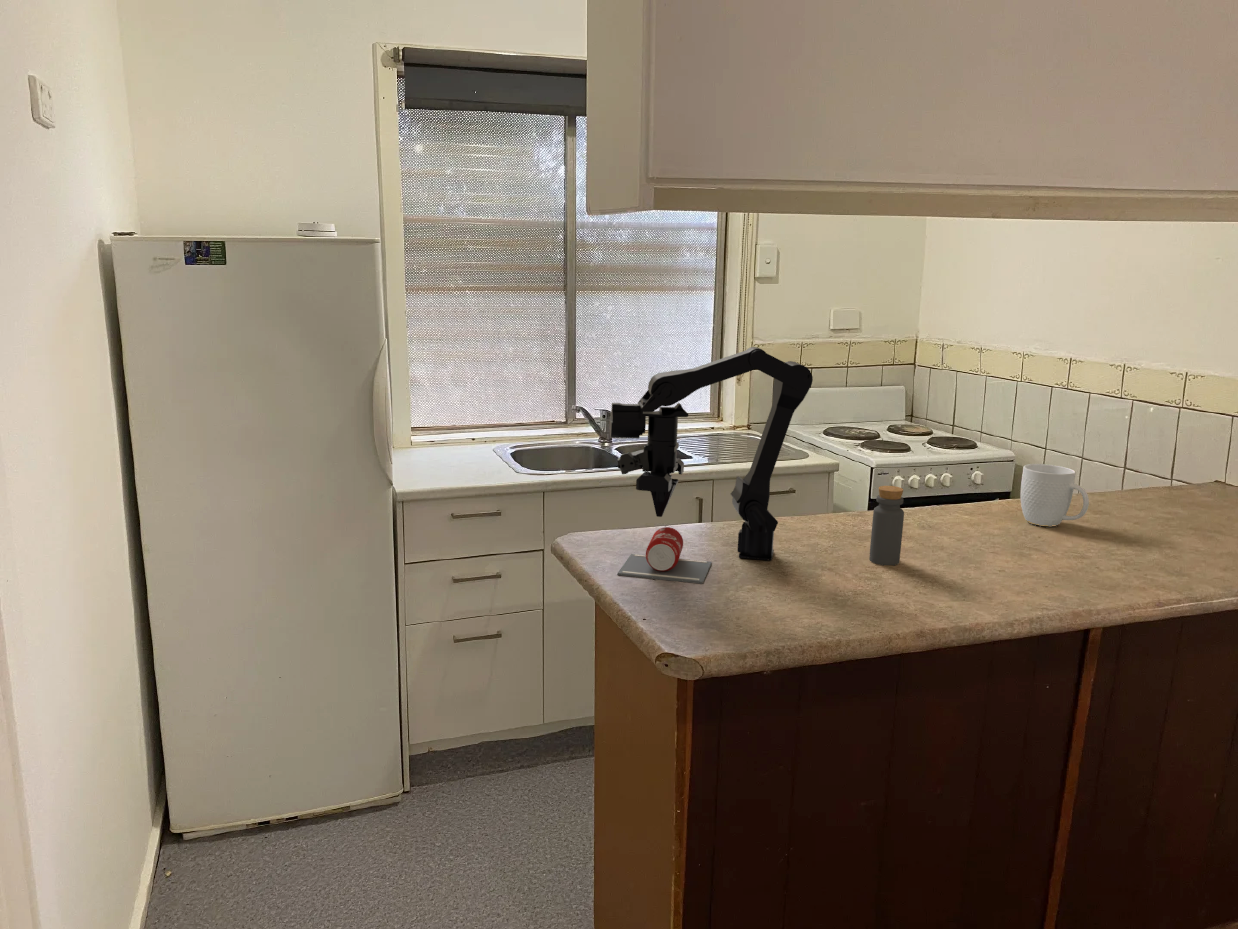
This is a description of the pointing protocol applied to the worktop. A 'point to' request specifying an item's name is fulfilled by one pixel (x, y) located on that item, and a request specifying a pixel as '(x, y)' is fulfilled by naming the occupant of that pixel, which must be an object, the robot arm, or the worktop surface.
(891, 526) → the bottle
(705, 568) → the mat
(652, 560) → the beverage can
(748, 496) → the robot arm
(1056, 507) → the mug
